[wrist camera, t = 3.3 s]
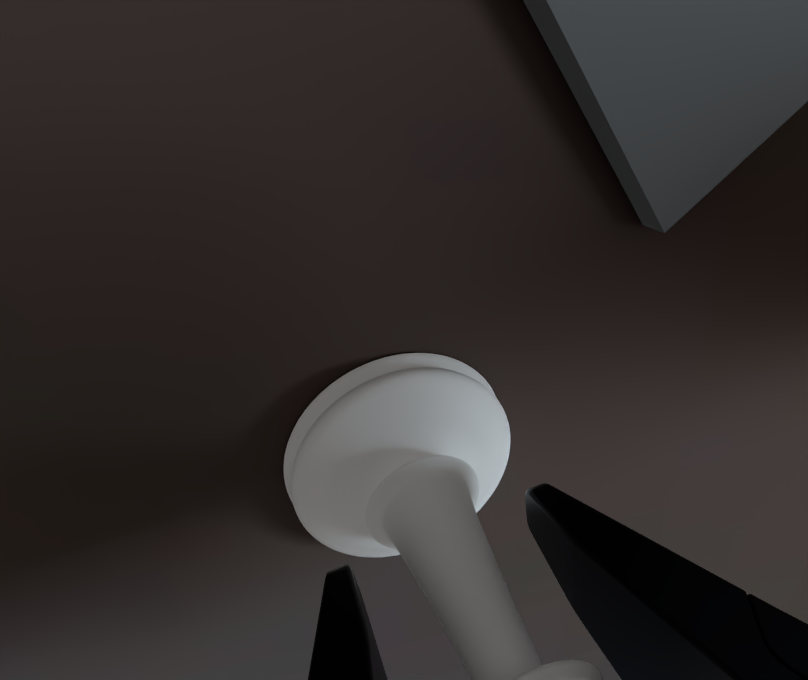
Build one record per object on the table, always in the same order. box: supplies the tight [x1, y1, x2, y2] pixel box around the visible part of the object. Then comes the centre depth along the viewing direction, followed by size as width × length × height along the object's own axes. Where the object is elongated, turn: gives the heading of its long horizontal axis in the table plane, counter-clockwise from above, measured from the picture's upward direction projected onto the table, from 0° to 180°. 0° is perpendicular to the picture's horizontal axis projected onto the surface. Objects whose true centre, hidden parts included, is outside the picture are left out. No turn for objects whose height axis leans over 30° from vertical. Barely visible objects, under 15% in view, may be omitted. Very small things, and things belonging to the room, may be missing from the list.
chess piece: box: [283, 353, 603, 680], centre depth 7 cm, size 5×5×10 cm
